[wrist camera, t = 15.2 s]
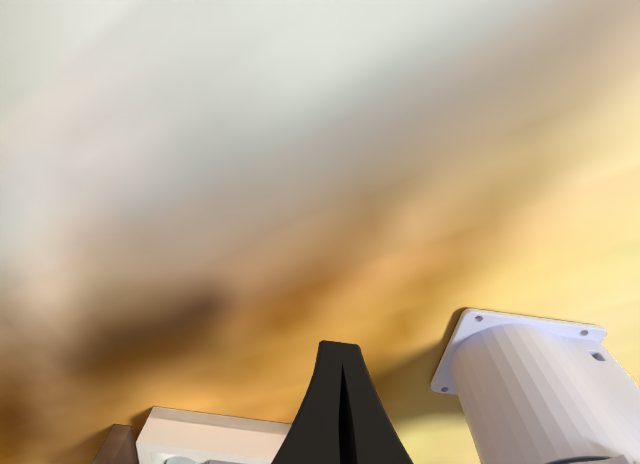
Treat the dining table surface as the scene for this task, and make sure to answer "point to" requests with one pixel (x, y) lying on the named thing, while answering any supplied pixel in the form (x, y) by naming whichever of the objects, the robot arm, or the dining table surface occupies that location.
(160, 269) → the dining table surface
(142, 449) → the white tray
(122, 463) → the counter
